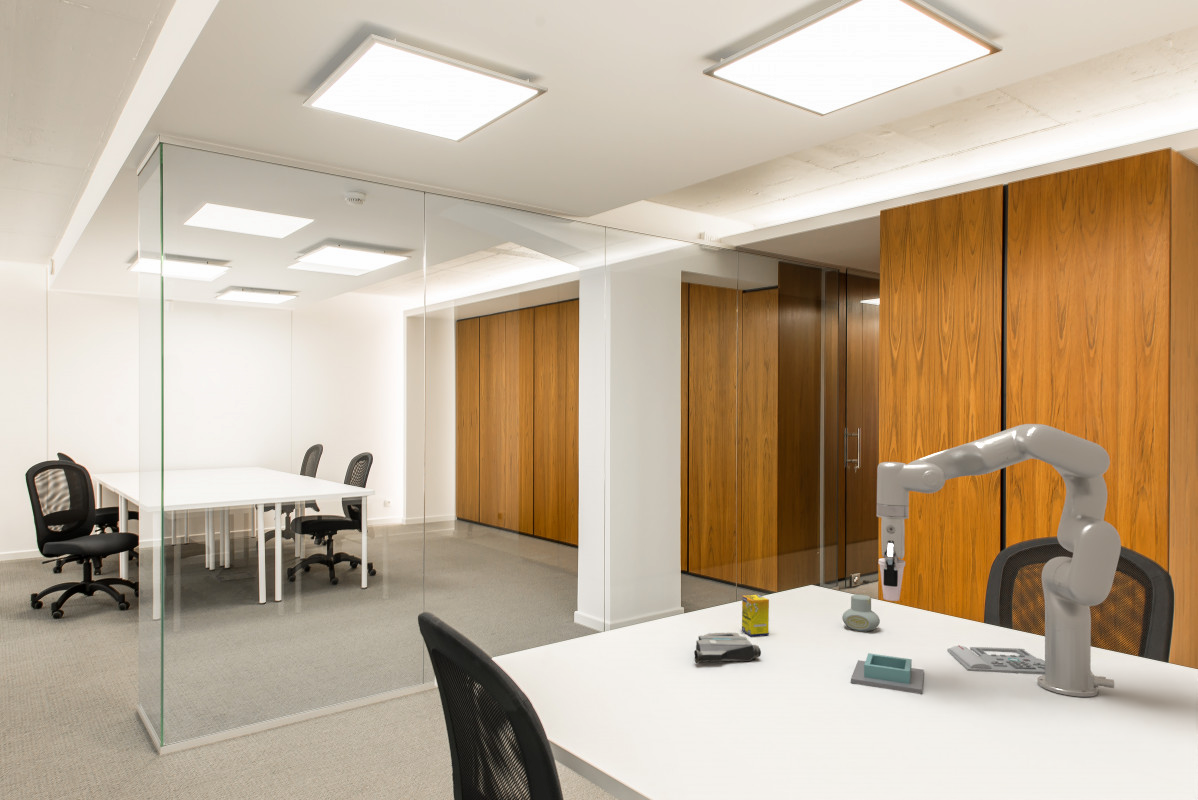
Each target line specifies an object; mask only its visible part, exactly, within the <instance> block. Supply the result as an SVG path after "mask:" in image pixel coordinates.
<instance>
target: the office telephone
mask: <svg viewBox="0 0 1198 800" xmlns="http://www.w3.org/2000/svg"><path fill="white" fill-rule="evenodd" d="M947 652H948V654H949V655H951V656H952V658H954V660H955V661H957V662H958V664H960V665H961V666H962V667H963V668H964V669H965V670H966V671H969V672H982V673H983V672H984V673H1004V674H1006V673H1008V674H1025V675H1026V674H1027V675H1045V659H1042V658H1038V657H1036V656H1034V655H1033V654H1031V653H1029V652H1028V651H1026V650H1025V649H1024V648H1019V647H1017V648H1014V647H1012V648H1011V647H992V646H991V647H990V646H989V647H988V646H987V647H986V646H985V647H983V646H970V648H968V647H967V646H963V645H959V644H958V645H953V646H951V647H950V648H949V647H948V648H947ZM987 652H993V653H994V652H995V654H988V653H987ZM996 652H997V653H998V652H999V653H1000V652H1001V653H1014V654H1009V655H1007V654H996ZM1015 653H1016V654H1017V655H1016V654H1015Z"/></svg>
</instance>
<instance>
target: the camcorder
mask: <svg viewBox="0 0 1198 800" xmlns="http://www.w3.org/2000/svg"><path fill="white" fill-rule="evenodd" d="M761 655H762V651H761V648H760V647H759V645H756V644H753V643H751V641H750V640H749V639H747V637H746V636H742V635H741V636H740V634H739V633H738V632H713V633H712V632H710V633H709V632H708V633H706V634H704V635H698V639H697V640H696V645H695V650H694V662H695V664H698V663H700V662H707V661H709V662H708V663H711V662H751V661H752V660H753V659H758V658H759V657H761ZM710 661H711V662H710Z"/></svg>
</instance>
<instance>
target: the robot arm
mask: <svg viewBox="0 0 1198 800" xmlns="http://www.w3.org/2000/svg"><path fill="white" fill-rule="evenodd" d="M1030 459H1032V460H1033V459H1034V460H1039V461H1041V462H1043V463H1046V464H1049V465H1050V466H1051V465H1052V468H1054V469H1055V471H1057V473H1058V474H1059V475H1060V476H1061V477H1062V480H1063V482H1064V484H1065V485H1064V486H1065V498H1064V499H1065V500H1064V503H1063V508H1062V512H1061V517H1060V520H1059V524H1058V528H1057V534H1056V535H1057V536H1056V537H1057V542H1058V543H1059V545H1060V546H1061V547H1062V548H1063V549H1065V550H1067V551H1068V552H1070V553H1072V557H1069V556H1056V557H1053V558H1051V559H1049V560H1048V561H1047V562H1046V563H1044V566H1043V568H1042V571H1041V585H1042V591H1043V598H1044V661H1045V675H1043V674H1041V675H1039V676H1038V677H1037V685H1039V686H1040V687H1041V688H1043V689H1045V690H1047V691H1050V692H1052V693H1057V694H1060V695H1065V696H1072V697H1081V698H1084V697H1085V698H1086V697H1087V698H1088V697H1095V696H1097V695H1098V694H1099V687H1104V688H1108V689H1115V681H1114V679H1111V678H1110V679H1109V678H1106V676H1100V675H1099V676H1098V675H1095V674H1093V672H1092V670H1091V658H1092V657H1091V656H1092V655H1091V653H1092V651H1091V645H1092V642H1091V641H1092V640H1091V638H1092V637H1091V636H1092V634H1091V633H1092V632H1091V631H1092V618H1091V617H1092V616H1091V608H1090V607H1095V606H1098V605H1100V604H1101V603H1103V602H1104V601H1105V600H1106V599H1107V597H1108V596H1109V594H1110V592H1111V590H1112V587H1113V584H1114V579H1115V575H1116V572H1117V571H1116V570H1117V567H1118V563H1119V561H1120V560H1119V559H1120V555H1121V548H1122V541H1121V537H1120V534H1119V532H1118V530H1117V529H1116V528H1115V527H1114V525H1112V524H1111V523H1109V522H1108V521H1106V520H1104V519H1105V514H1106V508H1107V504H1108V489H1107V484H1106V481H1105V480H1106V479H1104V476H1103V475H1104V474H1105V473H1106V472H1107V471H1108V470H1109V469H1110V468H1109V467H1110V465H1111V460H1110V456H1109V453H1108V452H1107V450H1106V449H1105V448H1104V447H1102V445H1100V444H1099V443H1095V442H1093V441H1091V440H1088V439H1085V438H1083V437H1079V436H1077V435H1075V434H1071V433H1068V432H1066V431H1063V430H1062V429H1059V428H1057V427H1053V426H1050V425H1046V424H1041V423H1025V424H1019V425H1016V426H1013V427H1010V428H1007V429H1004V430H1002V431H999V432H997V433H994V434H990V435H988V436H985V437H983V438H979V439H976V440H973V441H971V442H967V443H964V444H961V445H960V444H959V445H958V446H955V447H954V446H953V447H951V448H947V449H944V450H942V451H938V452H934V453H932V454H929V455H927V456H923V457H920V458H918V459H915V460H913V461H910V462H909V463H904V462H897V461H884V462H880V463H878V465H877V475H876V477H877V478H876V517H877V518H881V519H880V521H881V526H880V527H881V529H880V531H881V533H880V534H881V536H880V537H881V538H880V539H881V540H880V541H881V555H882V557H883V558H885V569H884V585H885V586H893V587H897V585H898V570H897V559H900V560H903V559H904V557H905V555H906V554H905V553H906V552H905V540H906V539H905V535H906V533H905V532H906V531H905V520H907V519H909V513H910V511H909V510H910V508H909V507H910V506H909V504H910V492H915V493H920V494H934V493H937V492H938V491H940V490H941V489H943V487H944V486H945V483H946V481H947V480H951V479H956V478H961V477H970V476H982V475H988V474H991V473H993V472H994V473H995V472H996V471H999V470H1002V469H1005V468H1007V467H1009V466H1013V465H1016V464H1019V463H1021V462H1025V461H1028V460H1030ZM893 547H894V548H893ZM893 556H895V557H893Z"/></svg>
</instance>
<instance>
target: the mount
mask: <svg viewBox="0 0 1198 800" xmlns="http://www.w3.org/2000/svg"><path fill="white" fill-rule="evenodd" d="M865 658H866V659H865V660H857V662H856V664H855V667H854V669H853V672H852V675H851V678H850V684H857V685H862V686H863V685H864V686H868V687H869V686H870V687H875V688H882V689H888V690H894V691H902V692H907V693H915V694H920V695H922V694H923V685H924V684H923V683H924V675H925V669H922V668H915V667H913V666H912V661H913V660H912V659H911V658H905V657H897V656H889V655H884V654H877V653H868V654H867V655H866V657H865Z"/></svg>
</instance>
